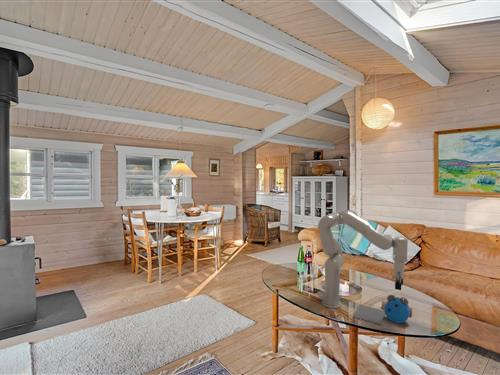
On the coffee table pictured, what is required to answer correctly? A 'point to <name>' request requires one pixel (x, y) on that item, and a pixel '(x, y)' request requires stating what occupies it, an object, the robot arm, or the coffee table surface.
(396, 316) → the alarm clock
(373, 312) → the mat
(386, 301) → the tan egg shape
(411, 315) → the walnut block
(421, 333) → the coffee table surface
